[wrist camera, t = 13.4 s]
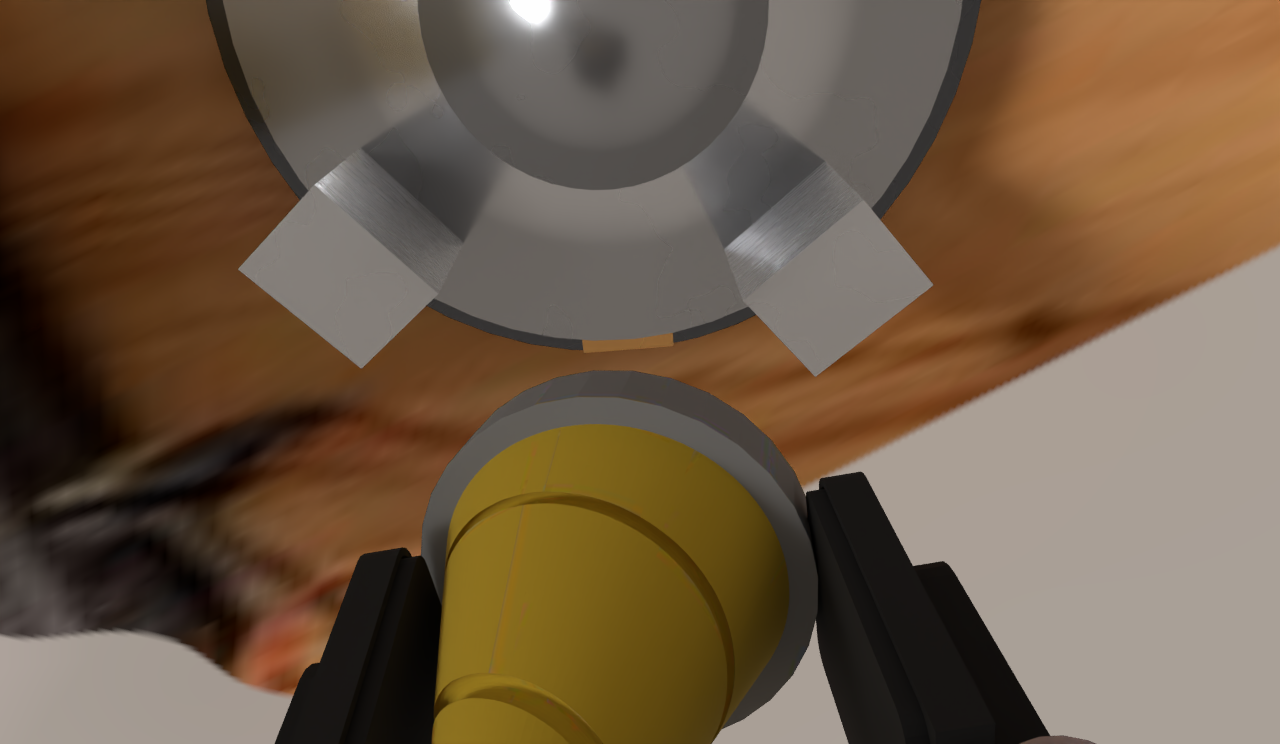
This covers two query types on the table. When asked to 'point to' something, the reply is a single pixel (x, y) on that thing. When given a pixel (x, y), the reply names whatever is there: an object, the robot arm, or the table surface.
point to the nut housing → (588, 346)
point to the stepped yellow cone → (615, 568)
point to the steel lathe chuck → (592, 162)
